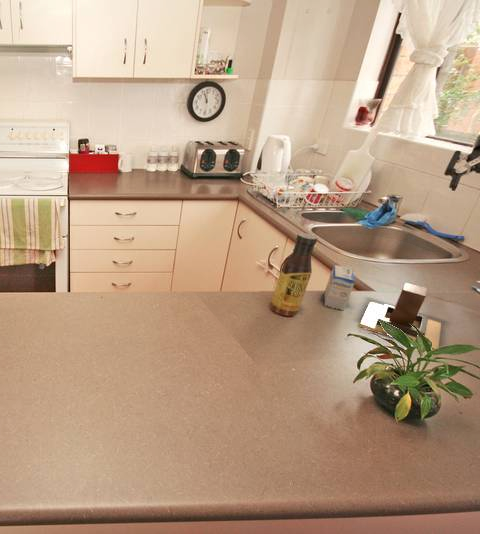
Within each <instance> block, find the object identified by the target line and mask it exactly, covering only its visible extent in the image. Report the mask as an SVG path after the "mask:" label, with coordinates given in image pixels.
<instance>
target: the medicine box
mask: <svg viewBox="0 0 480 534" xmlns="http://www.w3.org/2000/svg"><path fill="white" fill-rule="evenodd" d="M355 283H356V282H355V275H354V269H353V268H350V267H346V266H341V265H336V264H335V265H333V267H332V270H331V273H330V275H329V278H328V281H327V284H326V286H325V289H324V292H323V306H324V305H326V306H330V307H334V308H337V309H336V310H338V309H341V310H340V311H345V308H346V306H347V304H348V301H349V299H350V297H351V294H352V291H353V288H354V285H355ZM326 306H325V307H326ZM330 307H329V308H330ZM334 308H333V309H334Z"/></svg>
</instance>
